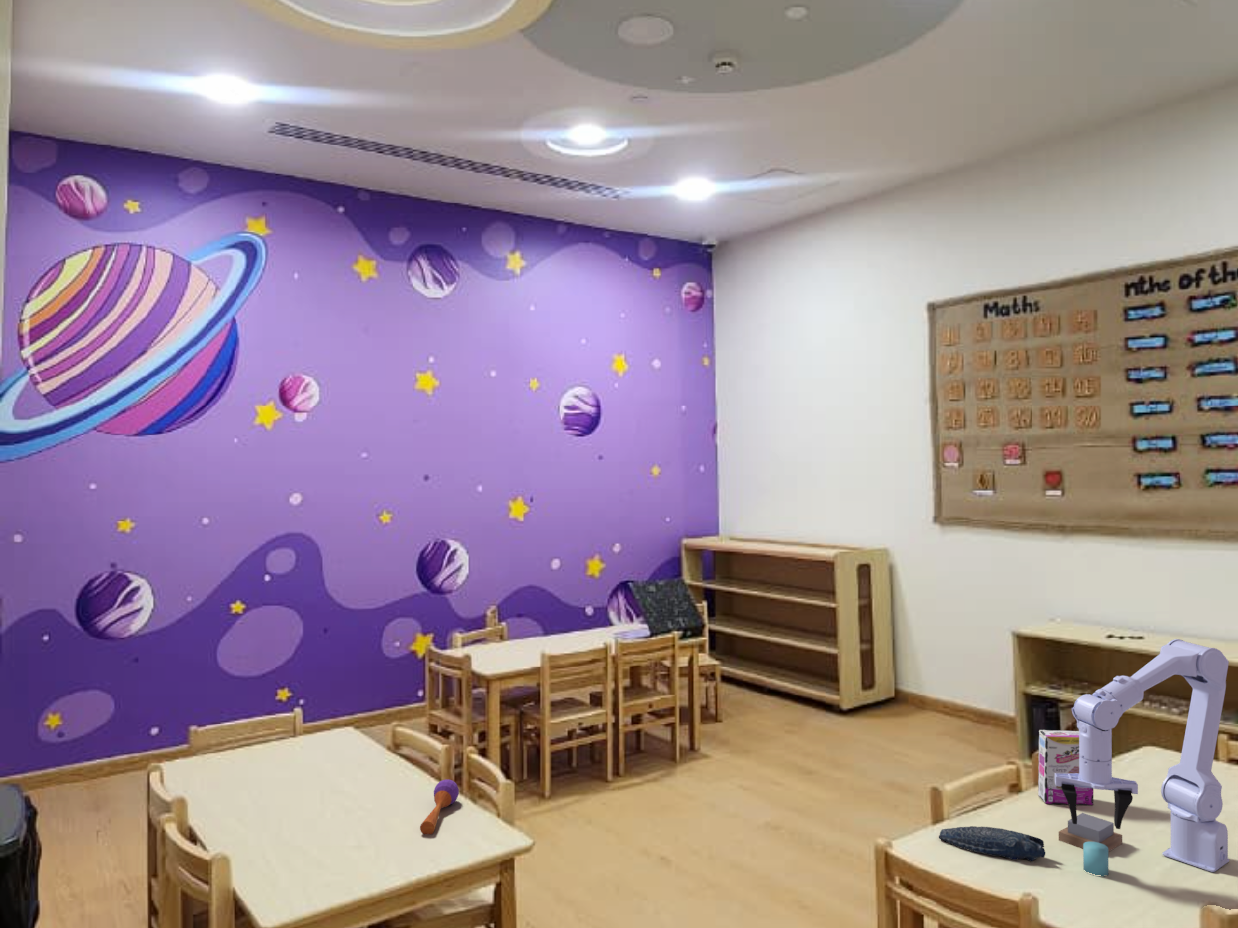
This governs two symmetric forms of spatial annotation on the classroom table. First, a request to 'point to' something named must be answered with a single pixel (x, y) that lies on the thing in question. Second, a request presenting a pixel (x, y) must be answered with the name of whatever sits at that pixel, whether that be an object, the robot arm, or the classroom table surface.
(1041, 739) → the candy bar box
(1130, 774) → the classroom table surface
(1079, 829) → the purplish gray square slab
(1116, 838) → the walnut base slab
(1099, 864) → the teal cylinder
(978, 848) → the fish model
